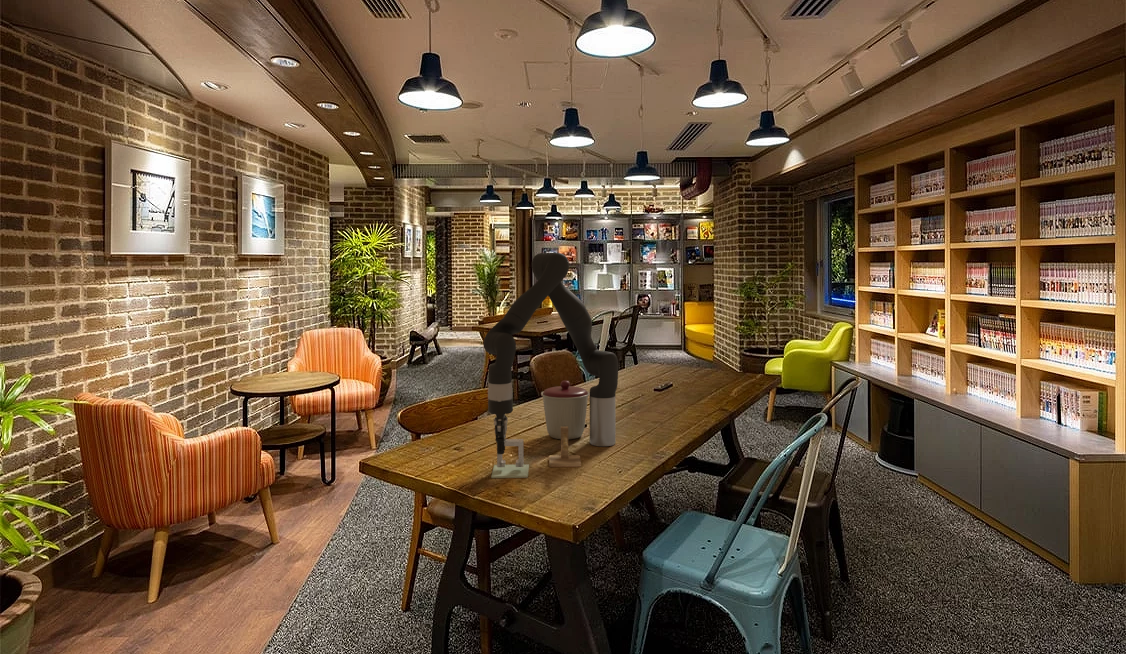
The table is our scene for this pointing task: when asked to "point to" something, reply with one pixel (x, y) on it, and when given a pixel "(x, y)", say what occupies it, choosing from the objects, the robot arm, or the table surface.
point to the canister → (565, 409)
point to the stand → (564, 454)
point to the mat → (510, 471)
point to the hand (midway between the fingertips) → (501, 451)
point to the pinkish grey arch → (521, 452)
